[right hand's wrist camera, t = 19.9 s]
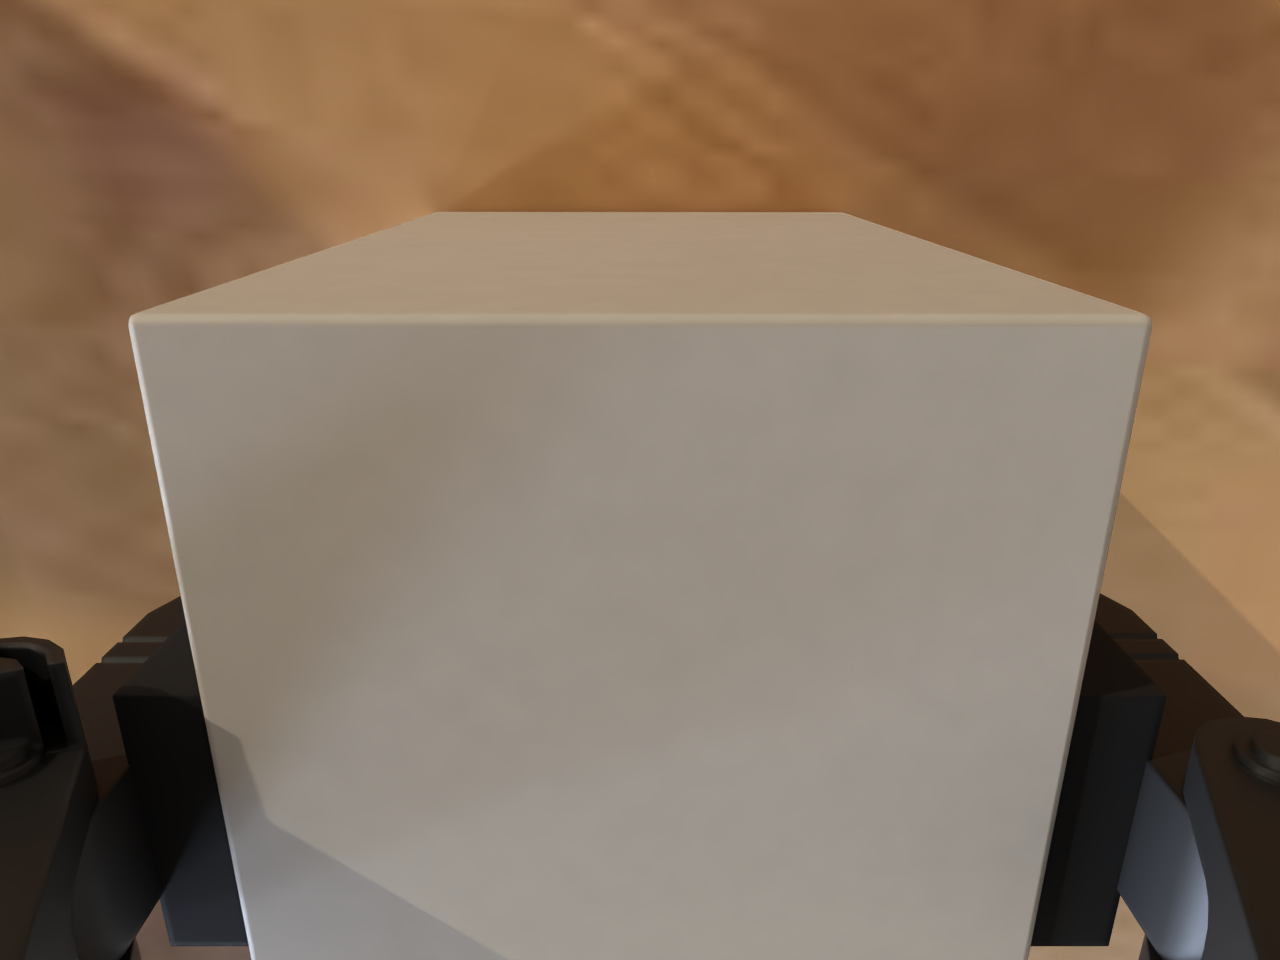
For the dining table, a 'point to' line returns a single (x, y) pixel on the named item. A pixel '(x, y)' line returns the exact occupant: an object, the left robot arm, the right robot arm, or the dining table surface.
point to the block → (639, 583)
